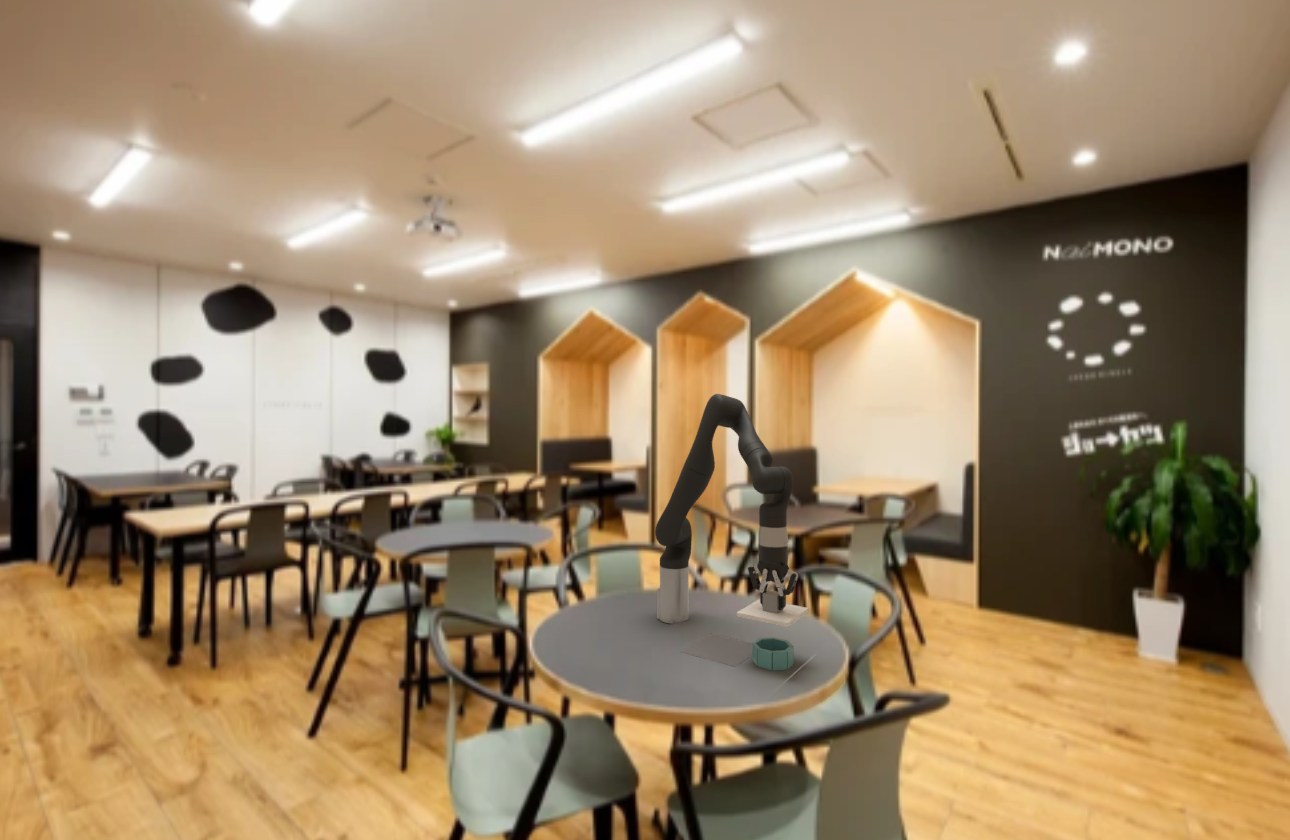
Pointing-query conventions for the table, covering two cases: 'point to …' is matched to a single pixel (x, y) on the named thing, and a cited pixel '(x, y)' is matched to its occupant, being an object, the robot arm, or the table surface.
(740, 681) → the table surface
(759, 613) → the lid
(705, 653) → the mat
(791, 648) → the bowl
